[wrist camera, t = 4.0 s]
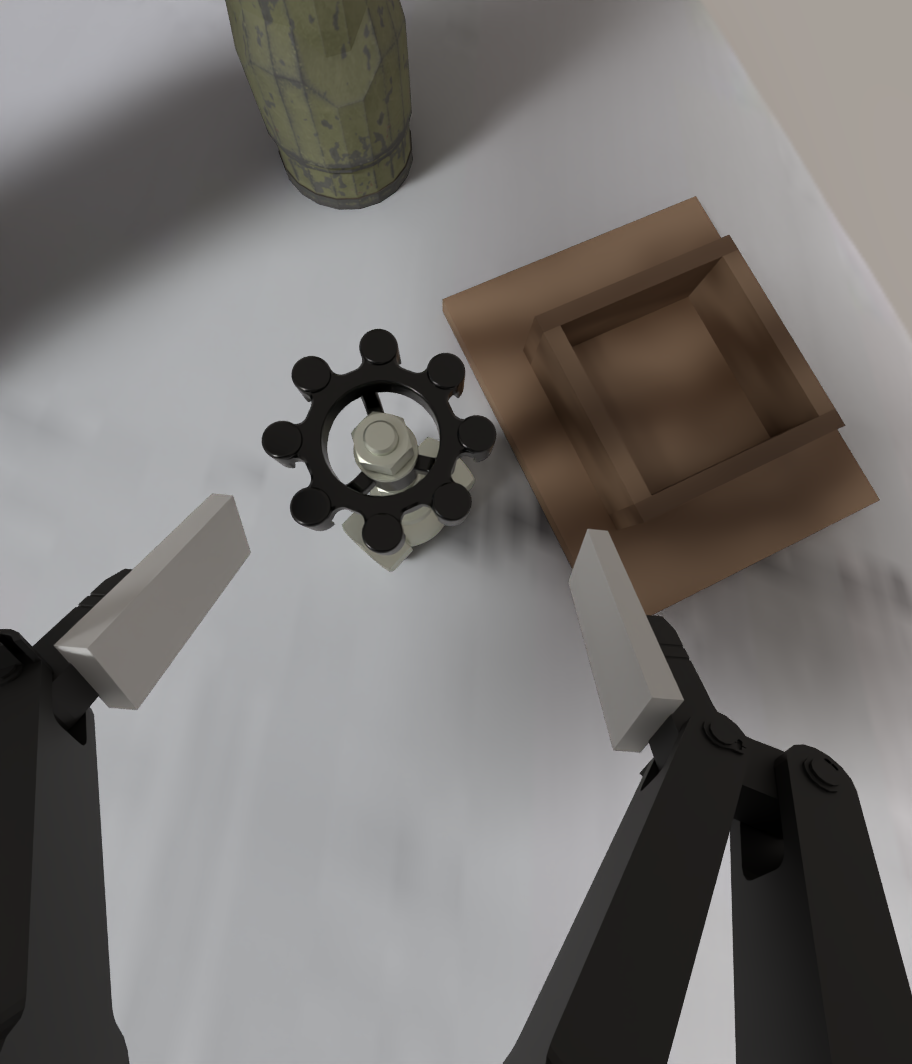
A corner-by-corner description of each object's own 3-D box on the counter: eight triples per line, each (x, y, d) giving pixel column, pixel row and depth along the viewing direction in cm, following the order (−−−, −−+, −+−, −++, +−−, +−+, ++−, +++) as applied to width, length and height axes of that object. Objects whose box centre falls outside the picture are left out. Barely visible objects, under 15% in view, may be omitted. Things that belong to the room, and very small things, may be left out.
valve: (333, 515, 23) (210, 440, 11) (411, 436, 23) (377, 284, 11) (415, 592, 22) (382, 604, 10) (492, 509, 23) (544, 431, 11)
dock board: (442, 311, 24) (442, 258, 20) (686, 211, 26) (730, 143, 22) (604, 632, 22) (639, 644, 18) (861, 503, 24) (945, 487, 20)
